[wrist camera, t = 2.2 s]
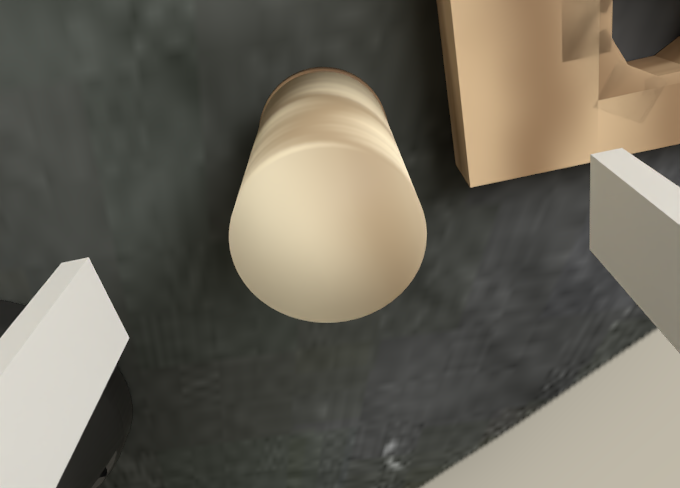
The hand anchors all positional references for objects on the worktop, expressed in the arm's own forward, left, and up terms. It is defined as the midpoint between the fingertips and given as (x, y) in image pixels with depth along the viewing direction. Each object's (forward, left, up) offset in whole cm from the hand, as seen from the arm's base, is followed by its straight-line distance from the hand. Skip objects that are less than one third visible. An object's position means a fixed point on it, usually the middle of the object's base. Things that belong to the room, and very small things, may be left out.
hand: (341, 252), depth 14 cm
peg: (0, 0, -14) cm, 14 cm away
